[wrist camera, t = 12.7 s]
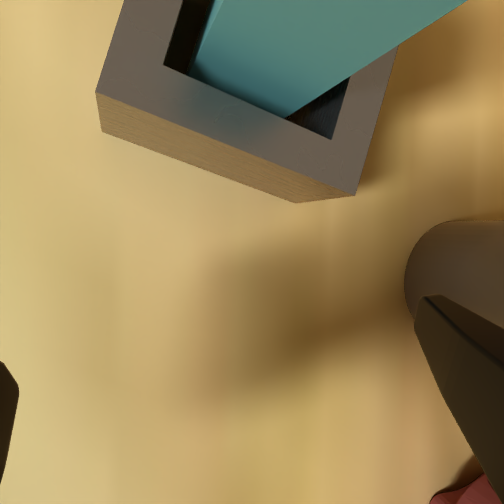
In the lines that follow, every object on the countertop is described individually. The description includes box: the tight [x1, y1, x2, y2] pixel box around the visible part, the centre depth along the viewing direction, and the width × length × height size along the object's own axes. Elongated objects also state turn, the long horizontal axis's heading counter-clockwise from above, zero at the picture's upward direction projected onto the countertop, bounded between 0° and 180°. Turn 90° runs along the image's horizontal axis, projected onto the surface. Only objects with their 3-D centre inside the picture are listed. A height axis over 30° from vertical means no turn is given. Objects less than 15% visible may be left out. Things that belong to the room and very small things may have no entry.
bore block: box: [95, 0, 399, 203], centre depth 15 cm, size 9×9×5 cm
